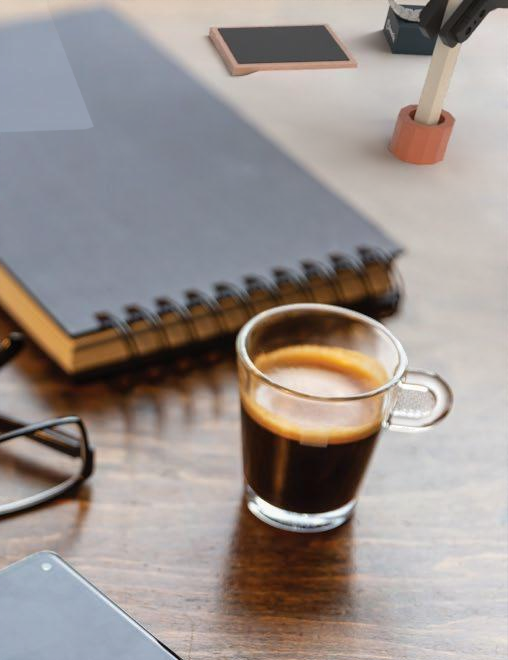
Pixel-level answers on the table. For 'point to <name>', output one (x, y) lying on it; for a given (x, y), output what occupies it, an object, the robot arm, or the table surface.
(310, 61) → the tablet
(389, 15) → the watch
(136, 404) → the table surface
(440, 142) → the pen holder
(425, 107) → the stylus
